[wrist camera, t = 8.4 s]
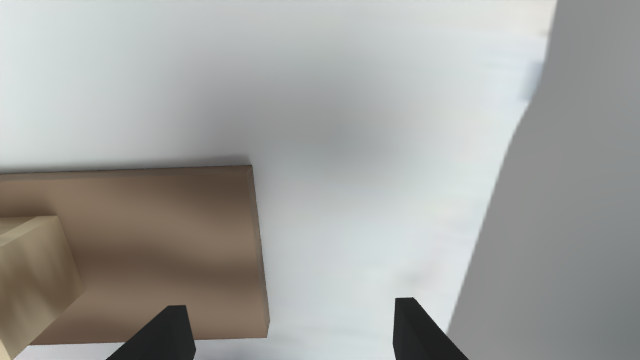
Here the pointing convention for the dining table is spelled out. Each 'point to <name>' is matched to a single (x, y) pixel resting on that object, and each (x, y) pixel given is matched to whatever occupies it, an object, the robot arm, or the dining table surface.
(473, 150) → the dining table surface
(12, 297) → the open-ended tan box
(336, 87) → the dining table surface
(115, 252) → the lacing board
